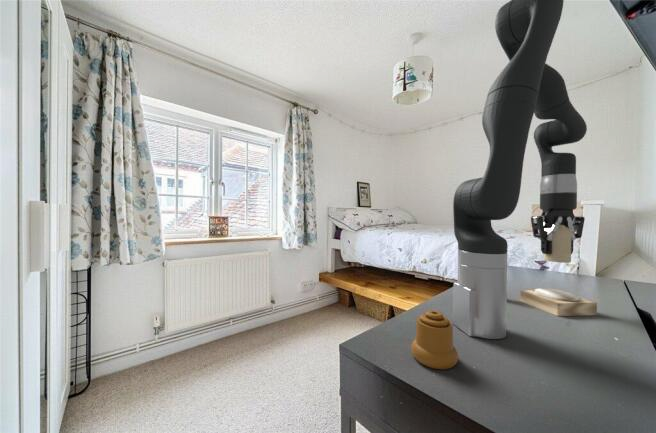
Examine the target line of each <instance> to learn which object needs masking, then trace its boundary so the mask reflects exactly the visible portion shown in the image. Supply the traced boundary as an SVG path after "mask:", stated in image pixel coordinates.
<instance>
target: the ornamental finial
mask: <svg viewBox="0 0 656 433" xmlns="http://www.w3.org/2000/svg"><path fill="white" fill-rule="evenodd" d="M453 328H454V327H453V322H451V321H450V319H449V318H448V317H447V316H445V315H444V314H443V313H442V312H440V311H439V310H434V309H433V310H431V309H430V310H427V311H426V312H424V313H421V314H420V315H419V316H418V317H417V318H416V330H415V331H416V333H415V339H413V341H412V343H411V349H410V350H411V352H412V356H413V357H414V358H415V359H416V361H417V362H419V363H420V364H421V365H423V366H425V367H428V368H431V369H435V370H448V369H452V368H453V367H454V366H456V364H457V363H458V361H459V354H458V351H457V349H456V347H455V346H454V333H453V330H454V329H453Z"/></svg>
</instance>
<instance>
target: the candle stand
mask: <svg viewBox="0 0 656 433" xmlns="http://www.w3.org/2000/svg"><path fill="white" fill-rule="evenodd" d="M519 299H520V302H522V303H524V304H526V305H528V306H532V307H533V308H536V309H538V310H541V311H543V312H546V313H548V314H552V315H554V316H557V317H567V316H568V317H570V316H573V317H574V316H575V317H577V316H578V317H579V316H597V314H598V313H597V312H598V302H596V301H592V300H591V299H590V300H589V299H586V298H584V297H580V296H579V295H577V294H576V293H573V292H568V291H564V290H561V289H554V288H553V289H552V288H539V287H538V288H535V289H533V290H532V289H530V290H529V289H527V290H525V289H524V290H523V289H522V290H520V298H519Z"/></svg>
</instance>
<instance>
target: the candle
mask: <svg viewBox="0 0 656 433" xmlns="http://www.w3.org/2000/svg"><path fill="white" fill-rule="evenodd" d="M546 229H551V228H546ZM547 234H548V232H546V235H547ZM550 241H552V254H543V260H544V261H546V262H553V263H560V264H561V263H563V264H564V263H565V264H570V263H571V262H572V254H571V230H570V229H569V228H567V227H565V226H564V225H559V227H558V229H557V230H556V233H553V237H552V239H551V240H550Z"/></svg>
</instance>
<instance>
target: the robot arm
mask: <svg viewBox="0 0 656 433" xmlns="http://www.w3.org/2000/svg"><path fill="white" fill-rule="evenodd" d="M564 1H565V0H509V1H508V2H506V3H505V4H503V5H502V6H501V7H500V8H499V9H498V11H497V13H496V15H495V21H494V28H495V33H496V38H497V39H498V41H499V44H500V47H501V48H502V50H503V51H504V54H505V55H506V56H507V59H508V60H509V62H508V63H507V64H506V66H505V67H504V68H503V69H502V71H501V72H500V73H499V75H498V76H496V79H495V80H494V82H493V83H492V84H491V86H490V87H489V90H488V93H487V95H486V100H485V103H484V107H483V111H482V117H481V119H482V120H481V123H482V128H483V132H484V134H485V136H486V139H487V141H488V144H489V156H488V161H487V165H486V169H485V172H484V174H483V176H482V177H478V178H472V179H468V180H465V181H462V182H461V183H460V184H459V185H458V186H457V187H456V189H455V192H454V195H453V201H452V202H453V203H452V208H453V209H452V211H453V212H452V213H453V231H454V236H455V238H456V239H455V240H456V242H457V281H455V282H454V283H453V285H452V286H453V288H452V289H453V292H452V293H453V294H452V295H453V296H452V297H453V298H452V301H453V302H452V303H453V304H452V325H454V326H455V327H456V328H458V329H460V330H461V331H462V332H463V333H465V334H466V335H468V337H477V338H481V339H482V338H483V339H487V340H500V339H504V338H505V337H506V336H507V312H508V311H507V306H508V305H507V304H508V303H507V301H508V300H507V299H508V298H507V296H508V295H507V294H508V292H507V290H508V249H509V248H508V240H507V239H505V238H504V237H503V236H501V235H499V234H498V233H497V232H496V231H495V230H494V229H493V226H492V221H501V220H504V219H507V218H509V217H510V216H511V215H512V214H513V212H515V210H516V208H517V206H518V203H519V200H520V193H521V185H522V178H523V168H524V167H523V166H524V161H525V153H526V148H527V144H528V139H529V138H528V137H529V134H530V129H531V124H532V122H533V117H534V116H535V118H537V119H538V120H544V121H545V120H548V121H545V122H542V123H540V124H538V125H537V126H536V128H535V129H534V131H533V140H534V144H535V145H536V148H537V150H538V153H539V157H540V158H539V159H540V162H541V166H540V167H541V178H540V184H539V208H540V209H539V210H542V212H541V214H540V215H532V216H530V224H531V227H532V234H533V236H532V237H533V238H538V239H539V240H540V252H541V253H542V254H543V255H544V254H552V241H550V240H551V239H552V237H553V233H556V230H557V229H558V227H559V225H564V226H565V227H567V228H569V229H570V230H571V255H572V254H573V252H574V241H575V240H576V239H581V238H582V236H583V232H584V231H583V230H584V225H585V216H577V215H575V214H574V210H576V209H577V207H578V181H577V175H576V174H577V158H576V157H577V156H576V155H575V153H572V152H555V151H554V150H553V147H557V146H563V145H570V144H574V143H578V142H580V141H581V140H582V139H583V138H585V136H586V134H587V131H588V128H587V127H588V126H587V123H586V121H585V119H584V117H583V116H582V115H581V113H579V112H578V110H577V109H576V108H575V107H574V105H573V103H572V102H571V100H570V97H569V94H568V90H567V86H566V82H565V79H564V77H563V76H562V74H561V73H560V72H558V71H557V70H556V69H555V68H554V67H552V66H551V65H550V64H548V63H546V62H547V58H548V55H549V52H550V50H551V46H552V44H553V42H554V38H555V35H556V33H557V30H558V27H559V23H560V21H561V17H562V14H563V8H564ZM549 120H550V121H549ZM546 228H551V229H546ZM546 232H548V234H547V235H546ZM575 232H576V233H575Z"/></svg>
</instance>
